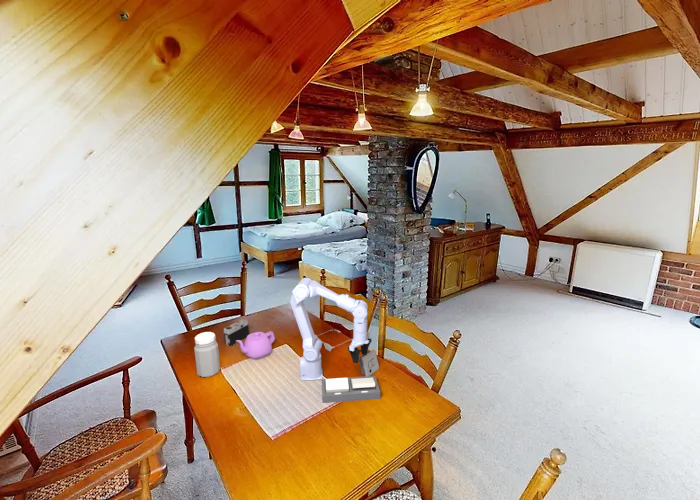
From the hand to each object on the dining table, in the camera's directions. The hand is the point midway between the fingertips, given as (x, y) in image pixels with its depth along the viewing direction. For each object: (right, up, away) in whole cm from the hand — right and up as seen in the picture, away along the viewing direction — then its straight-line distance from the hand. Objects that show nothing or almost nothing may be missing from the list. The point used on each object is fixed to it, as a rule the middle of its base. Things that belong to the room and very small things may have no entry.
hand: (359, 358), depth 146 cm
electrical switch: (+4, -8, +7) cm, 12 cm away
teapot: (-51, -5, +22) cm, 55 cm away
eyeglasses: (-12, -2, +34) cm, 36 cm away
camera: (-66, -2, +36) cm, 75 cm away
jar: (-68, -9, +7) cm, 69 cm away
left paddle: (-9, -9, -8) cm, 15 cm away
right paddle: (+1, -9, -7) cm, 11 cm away
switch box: (-4, -12, -7) cm, 14 cm away
